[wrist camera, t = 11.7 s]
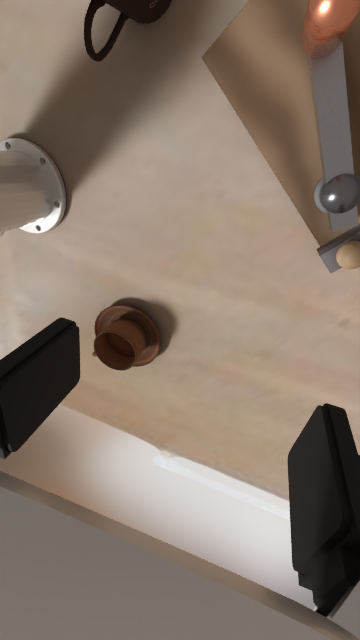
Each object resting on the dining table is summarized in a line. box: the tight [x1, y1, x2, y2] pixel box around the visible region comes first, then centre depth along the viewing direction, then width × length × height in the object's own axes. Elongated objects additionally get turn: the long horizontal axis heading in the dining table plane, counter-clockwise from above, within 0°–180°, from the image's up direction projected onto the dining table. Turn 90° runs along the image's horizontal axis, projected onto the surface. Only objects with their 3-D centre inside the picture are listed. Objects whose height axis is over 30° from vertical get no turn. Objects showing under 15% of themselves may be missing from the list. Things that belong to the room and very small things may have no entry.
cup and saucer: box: [92, 305, 160, 370], centre depth 47 cm, size 12×12×6 cm
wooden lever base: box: [202, 0, 360, 273], centre depth 26 cm, size 16×26×7 cm, turn 40°
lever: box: [302, 0, 360, 232], centre depth 24 cm, size 18×4×8 cm, turn 20°
